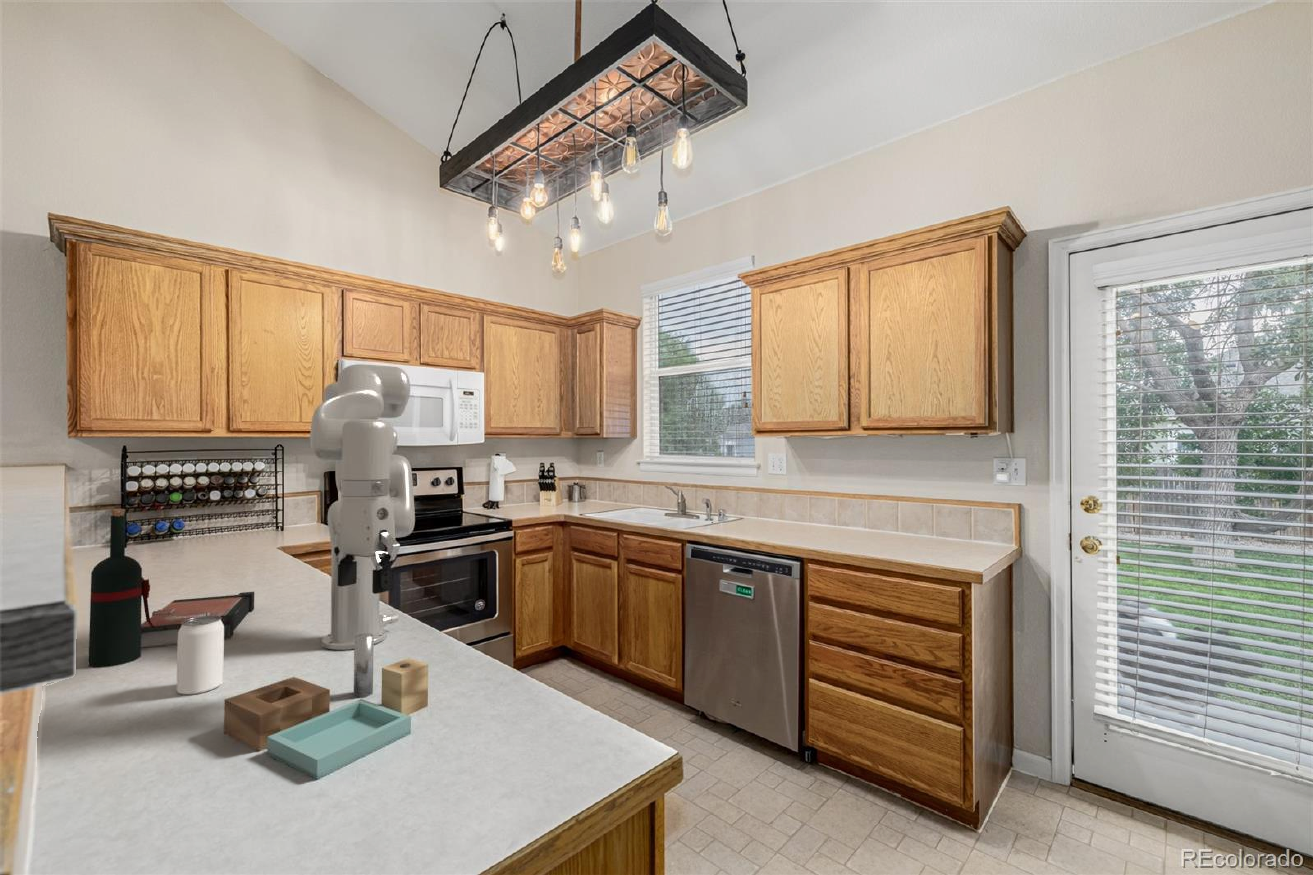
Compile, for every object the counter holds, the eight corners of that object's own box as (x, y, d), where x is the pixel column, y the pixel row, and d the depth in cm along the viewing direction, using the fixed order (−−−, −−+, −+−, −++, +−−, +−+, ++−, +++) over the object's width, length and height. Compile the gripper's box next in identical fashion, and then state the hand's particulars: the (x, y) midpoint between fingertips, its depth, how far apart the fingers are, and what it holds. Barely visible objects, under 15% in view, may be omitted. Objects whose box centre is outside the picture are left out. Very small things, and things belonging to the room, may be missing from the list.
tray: (361, 714, 93) (361, 699, 93) (410, 733, 87) (410, 716, 87) (267, 754, 81) (267, 736, 81) (317, 779, 75) (317, 760, 75)
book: (170, 618, 145) (170, 598, 145) (254, 610, 152) (254, 591, 152) (128, 652, 121) (128, 628, 121) (229, 641, 129) (230, 618, 129)
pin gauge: (365, 689, 103) (366, 632, 103) (376, 692, 101) (377, 635, 101) (349, 695, 100) (350, 637, 100) (360, 699, 99) (361, 640, 99)
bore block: (293, 707, 95) (293, 676, 95) (329, 721, 90) (329, 689, 90) (223, 733, 87) (224, 699, 87) (259, 751, 82) (260, 715, 82)
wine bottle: (162, 654, 119) (165, 508, 119) (95, 670, 110) (99, 512, 111) (146, 647, 123) (149, 505, 123) (81, 662, 114) (84, 510, 115)
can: (197, 697, 99) (198, 626, 99) (166, 694, 100) (168, 624, 100) (232, 682, 105) (233, 616, 105) (202, 679, 106) (204, 613, 107)
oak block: (407, 699, 99) (408, 657, 99) (427, 706, 96) (428, 663, 96) (381, 711, 94) (381, 667, 94) (401, 718, 92) (401, 673, 92)
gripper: (416, 490, 100) (415, 590, 100) (355, 487, 109) (354, 578, 108) (377, 493, 94) (375, 599, 93) (315, 489, 102) (313, 586, 102)
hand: (364, 588), depth 101 cm, fingers open, 9 cm apart
